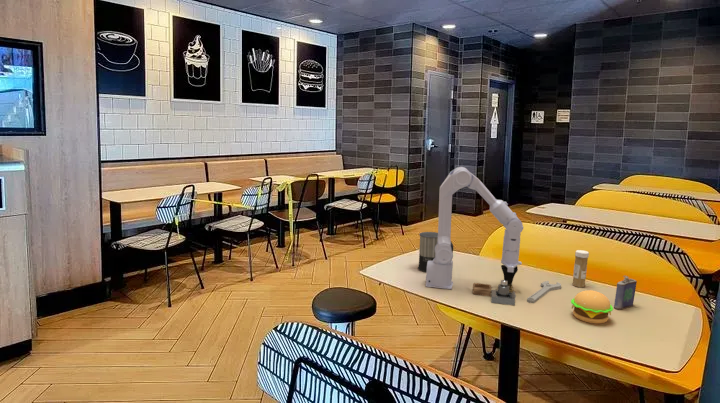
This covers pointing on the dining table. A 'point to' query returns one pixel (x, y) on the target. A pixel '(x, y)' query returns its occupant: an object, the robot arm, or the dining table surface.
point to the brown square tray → (481, 289)
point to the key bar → (510, 287)
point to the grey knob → (503, 289)
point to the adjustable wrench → (543, 291)
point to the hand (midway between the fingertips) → (507, 285)
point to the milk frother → (427, 249)
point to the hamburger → (591, 307)
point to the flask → (625, 293)
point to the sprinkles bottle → (580, 268)
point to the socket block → (503, 298)
